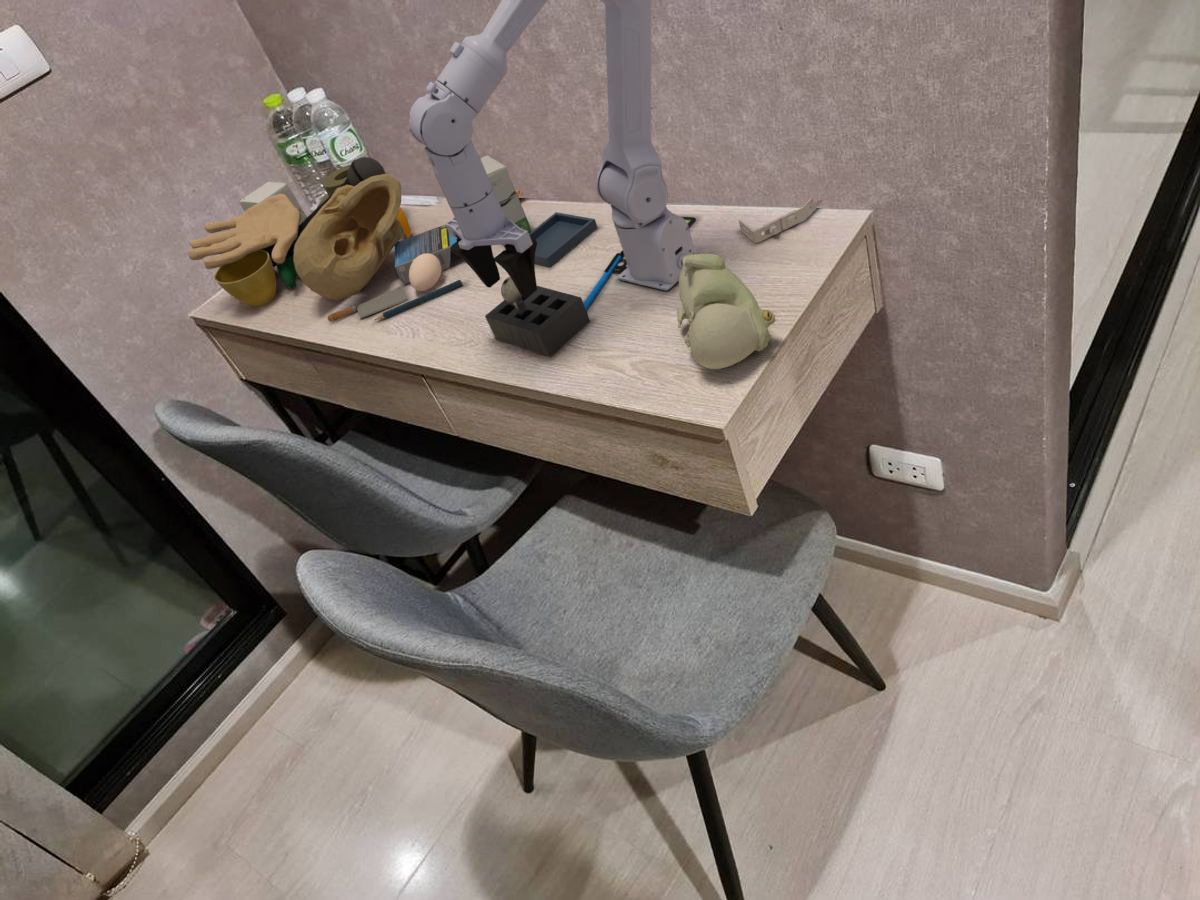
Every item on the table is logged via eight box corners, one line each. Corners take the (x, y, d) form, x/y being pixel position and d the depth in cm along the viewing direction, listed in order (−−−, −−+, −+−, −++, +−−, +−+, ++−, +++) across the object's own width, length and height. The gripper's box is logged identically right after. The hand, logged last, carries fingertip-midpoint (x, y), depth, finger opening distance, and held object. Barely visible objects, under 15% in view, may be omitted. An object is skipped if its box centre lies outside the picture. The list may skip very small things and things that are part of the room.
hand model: (278, 187, 157) (187, 250, 154) (265, 169, 153) (171, 233, 150) (325, 241, 149) (229, 309, 146) (312, 223, 145) (213, 292, 142)
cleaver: (409, 303, 137) (404, 289, 141) (406, 296, 136) (401, 282, 140) (332, 335, 136) (329, 320, 140) (328, 329, 135) (325, 314, 139)
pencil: (461, 283, 134) (374, 321, 134) (463, 285, 135) (376, 323, 135) (459, 278, 134) (372, 316, 134) (461, 280, 135) (374, 318, 135)
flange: (396, 158, 151) (358, 150, 161) (328, 201, 146) (292, 190, 156) (408, 182, 154) (369, 172, 164) (341, 225, 149) (306, 213, 159)
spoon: (543, 330, 118) (518, 271, 111) (527, 345, 116) (500, 286, 110) (540, 329, 118) (515, 271, 112) (523, 344, 117) (496, 285, 110)
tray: (597, 227, 134) (594, 218, 133) (550, 267, 130) (546, 258, 129) (559, 220, 140) (555, 212, 139) (512, 258, 136) (508, 249, 135)
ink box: (533, 231, 140) (506, 164, 132) (507, 245, 139) (479, 179, 131) (513, 216, 146) (486, 152, 139) (488, 230, 145) (460, 166, 138)
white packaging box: (294, 262, 162) (256, 203, 154) (273, 258, 166) (236, 201, 158) (322, 241, 165) (287, 182, 157) (302, 237, 170) (267, 180, 162)
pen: (626, 253, 126) (624, 247, 125) (571, 334, 115) (568, 328, 114) (621, 253, 126) (619, 247, 126) (565, 334, 115) (562, 328, 115)
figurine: (698, 326, 91) (790, 322, 92) (678, 236, 102) (760, 233, 103) (690, 393, 99) (775, 389, 100) (672, 303, 110) (748, 300, 110)
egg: (427, 242, 135) (410, 274, 132) (452, 260, 137) (436, 292, 134) (413, 252, 138) (397, 284, 136) (437, 270, 141) (422, 301, 138)
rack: (590, 321, 116) (581, 297, 113) (550, 357, 112) (539, 333, 110) (535, 305, 123) (525, 282, 121) (495, 338, 120) (484, 316, 117)
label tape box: (403, 285, 140) (473, 262, 140) (393, 264, 138) (464, 241, 137) (403, 260, 147) (470, 238, 147) (393, 240, 144) (461, 217, 144)
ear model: (367, 143, 136) (326, 213, 151) (304, 214, 125) (266, 282, 140) (433, 195, 140) (386, 258, 155) (378, 269, 129) (333, 329, 144)
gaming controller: (334, 269, 158) (315, 245, 159) (332, 260, 155) (312, 235, 155) (292, 296, 156) (272, 271, 156) (288, 287, 152) (268, 261, 152)
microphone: (307, 254, 151) (386, 181, 145) (281, 224, 149) (359, 149, 143) (322, 248, 157) (398, 178, 151) (296, 219, 155) (372, 147, 149)
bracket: (833, 173, 120) (738, 220, 119) (855, 187, 115) (756, 235, 115) (835, 185, 121) (741, 231, 120) (857, 199, 116) (759, 247, 116)
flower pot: (258, 320, 149) (237, 286, 144) (225, 311, 154) (203, 278, 149) (299, 286, 154) (280, 252, 149) (265, 279, 159) (245, 246, 154)
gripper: (412, 206, 106) (457, 295, 115) (483, 220, 97) (526, 316, 105) (453, 177, 109) (493, 266, 118) (526, 188, 100) (564, 284, 108)
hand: (511, 288), depth 112 cm, fingers open, 7 cm apart
